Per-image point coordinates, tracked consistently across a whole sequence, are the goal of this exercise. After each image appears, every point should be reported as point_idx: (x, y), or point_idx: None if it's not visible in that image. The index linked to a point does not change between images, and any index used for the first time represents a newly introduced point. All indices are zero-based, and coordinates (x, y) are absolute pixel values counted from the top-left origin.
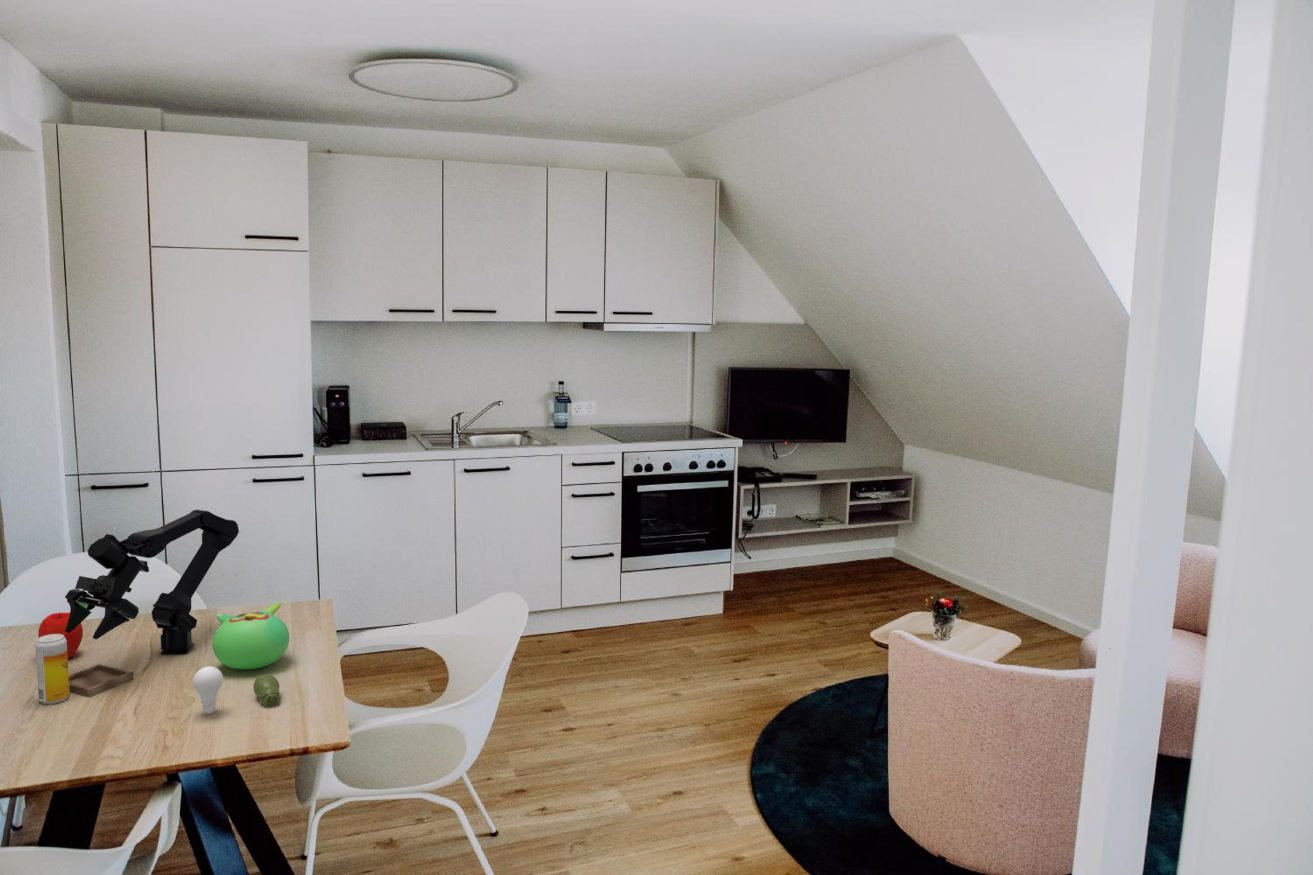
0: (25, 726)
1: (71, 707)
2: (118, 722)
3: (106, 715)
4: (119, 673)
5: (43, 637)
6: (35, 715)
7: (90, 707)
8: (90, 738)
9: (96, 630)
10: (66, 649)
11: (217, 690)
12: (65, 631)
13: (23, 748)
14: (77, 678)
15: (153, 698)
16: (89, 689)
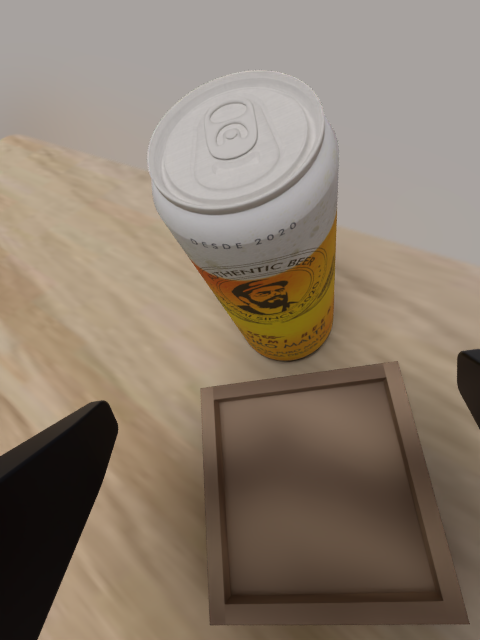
0: None
1: (187, 321)
2: (7, 342)
3: (61, 348)
4: (282, 597)
5: (315, 120)
6: None
7: (140, 351)
8: (10, 266)
9: (54, 431)
10: (192, 259)
11: None
12: (467, 351)
13: (95, 175)
14: (404, 463)
15: None
16: (202, 391)
